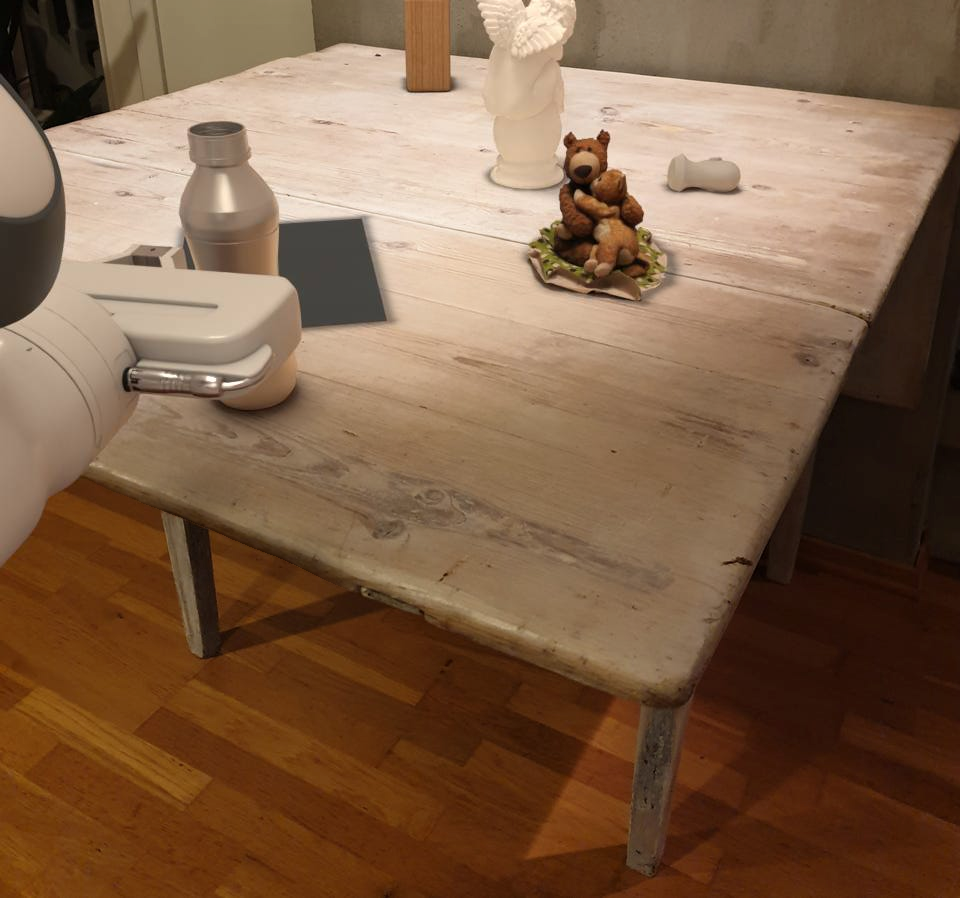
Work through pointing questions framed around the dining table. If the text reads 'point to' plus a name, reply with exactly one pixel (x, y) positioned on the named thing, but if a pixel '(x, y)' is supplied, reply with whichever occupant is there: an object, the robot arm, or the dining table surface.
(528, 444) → the dining table surface
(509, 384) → the dining table surface
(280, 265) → the mat
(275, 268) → the plastic bottle
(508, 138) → the cherub figurine
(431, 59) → the decorative item
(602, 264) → the bear figurine
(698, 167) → the pale two-lobed sculpture
